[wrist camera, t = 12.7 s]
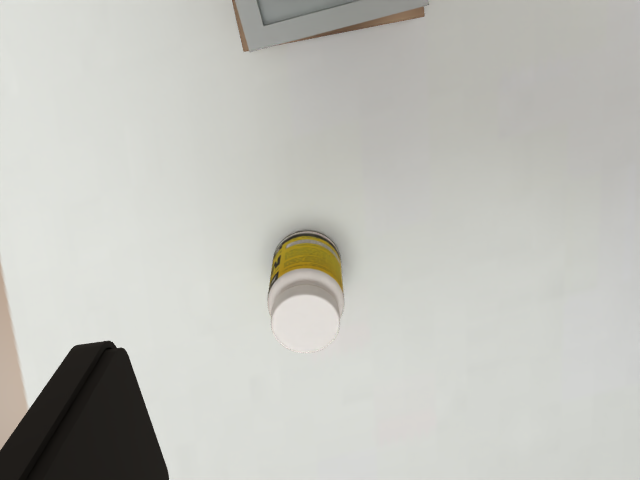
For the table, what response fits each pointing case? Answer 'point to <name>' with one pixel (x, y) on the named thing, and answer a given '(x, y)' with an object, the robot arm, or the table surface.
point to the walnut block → (379, 21)
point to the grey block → (309, 17)
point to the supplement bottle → (306, 292)
